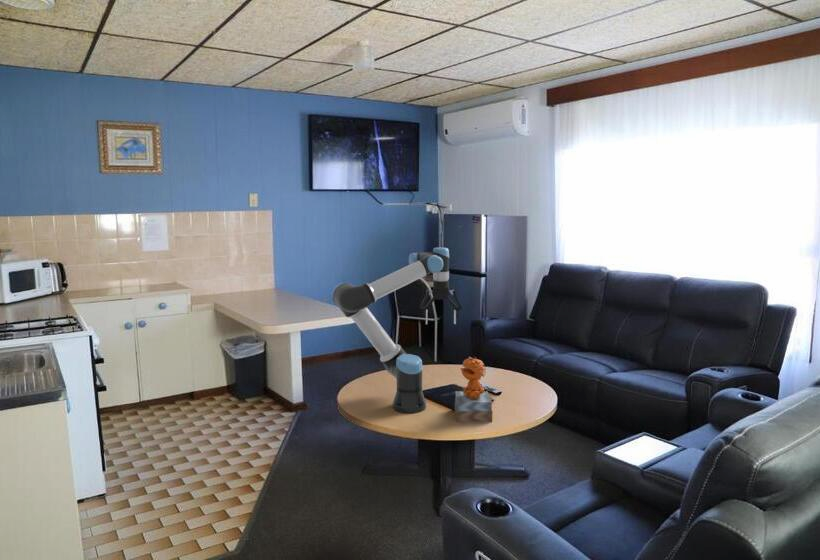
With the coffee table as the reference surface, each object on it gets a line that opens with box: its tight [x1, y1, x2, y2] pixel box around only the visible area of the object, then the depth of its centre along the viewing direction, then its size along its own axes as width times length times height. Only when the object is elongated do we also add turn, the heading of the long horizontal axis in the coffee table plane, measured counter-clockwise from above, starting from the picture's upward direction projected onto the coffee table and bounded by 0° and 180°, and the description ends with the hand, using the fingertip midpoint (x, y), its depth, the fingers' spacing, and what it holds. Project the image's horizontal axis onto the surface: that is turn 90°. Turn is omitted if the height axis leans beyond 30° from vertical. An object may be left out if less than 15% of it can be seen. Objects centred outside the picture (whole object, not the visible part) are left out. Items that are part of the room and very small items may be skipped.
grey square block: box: [454, 390, 493, 423], centre depth 259 cm, size 15×15×8 cm
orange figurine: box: [460, 356, 486, 399], centre depth 257 cm, size 11×11×18 cm
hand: (440, 323), depth 285 cm, fingers open, 13 cm apart
